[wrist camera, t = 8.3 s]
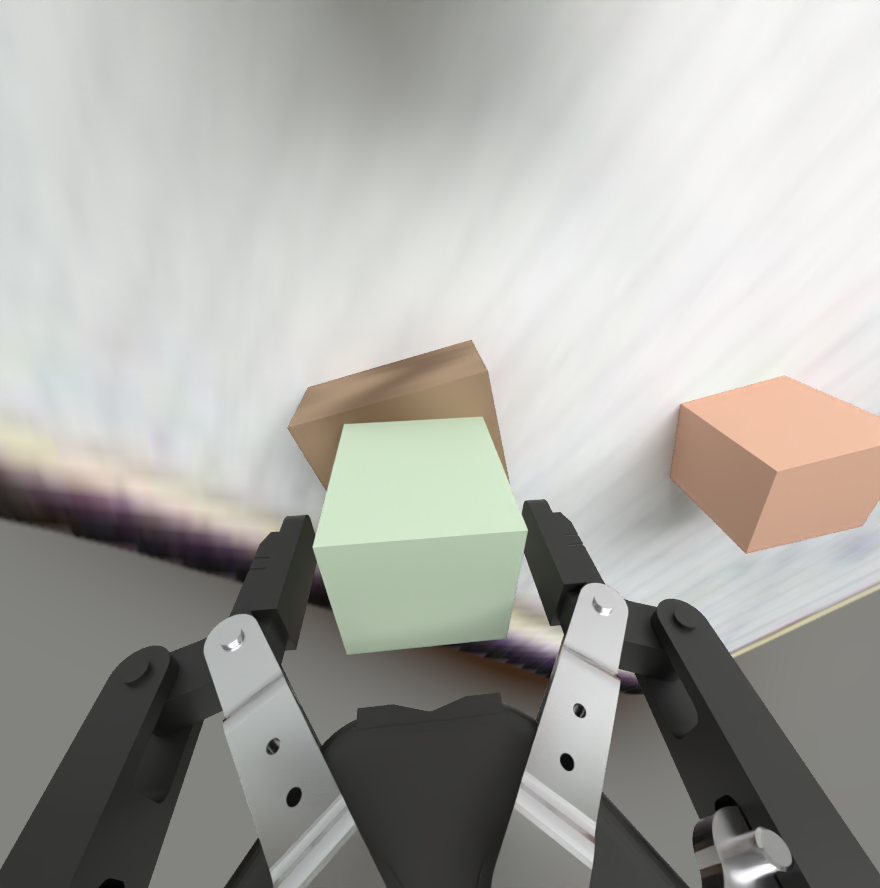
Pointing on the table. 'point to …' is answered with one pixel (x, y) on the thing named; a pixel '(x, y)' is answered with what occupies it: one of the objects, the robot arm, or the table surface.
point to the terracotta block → (778, 462)
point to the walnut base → (395, 401)
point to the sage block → (419, 536)
